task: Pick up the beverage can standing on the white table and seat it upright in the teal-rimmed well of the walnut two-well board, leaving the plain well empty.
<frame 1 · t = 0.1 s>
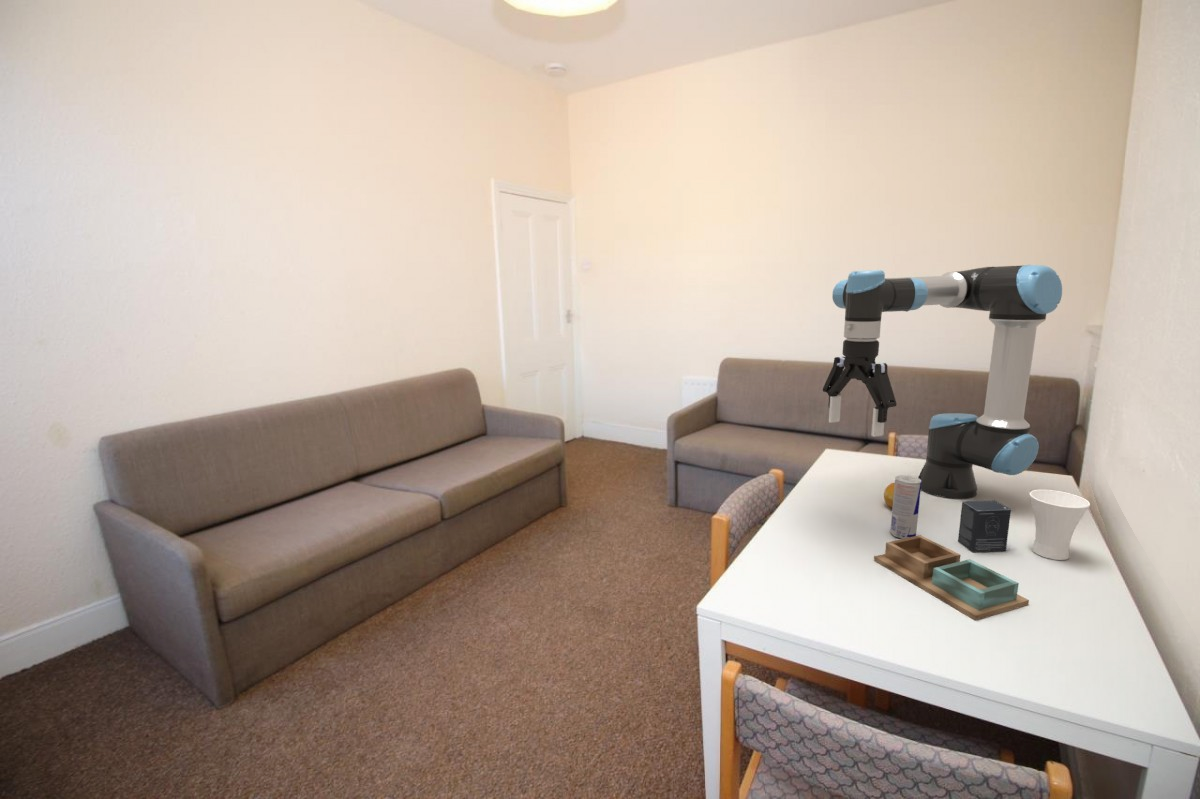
hand: (854, 428, 129), 28 cm above the table, fingers open, 13 cm apart
socket board: (945, 580, 115), on the table
beverage can: (902, 536, 135), on the table
fruit: (899, 508, 151), on the table
box: (981, 547, 128), on the table
cup: (1050, 554, 124), on the table
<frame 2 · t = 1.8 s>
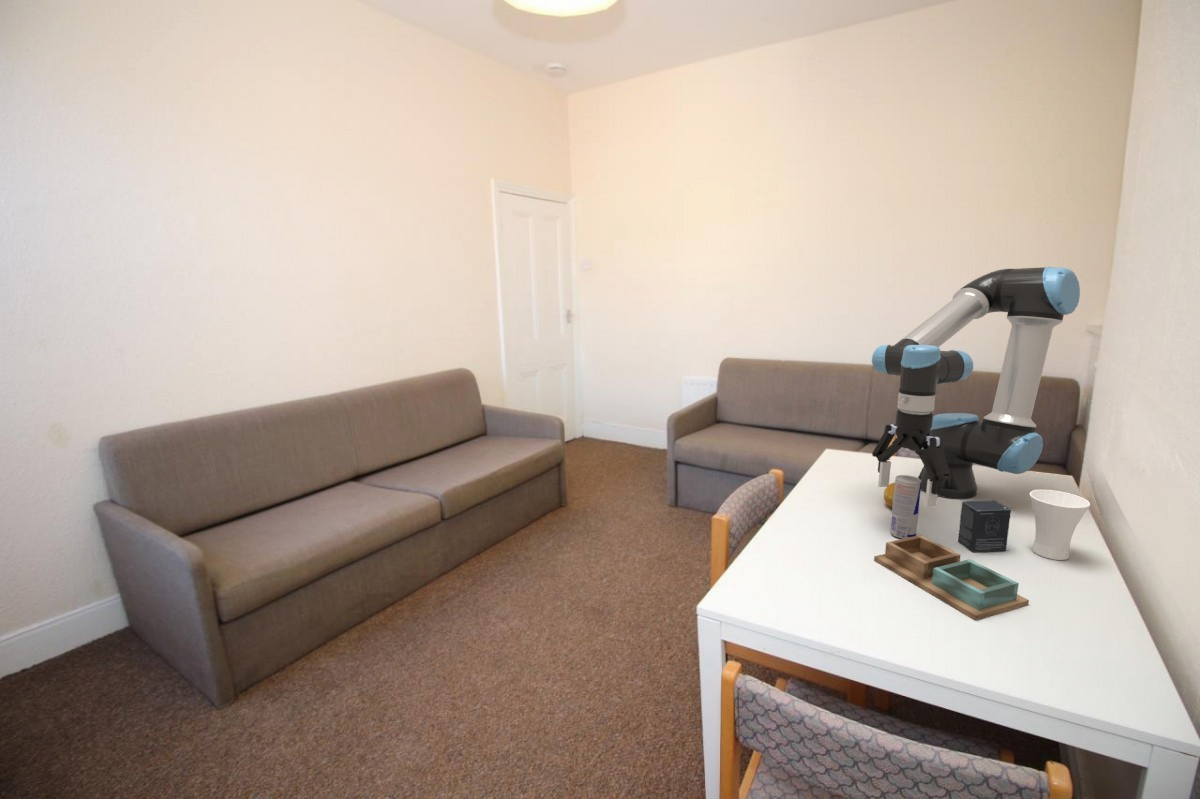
hand: (905, 495, 133), 11 cm above the table, fingers open, 13 cm apart
nothing on the table moved.
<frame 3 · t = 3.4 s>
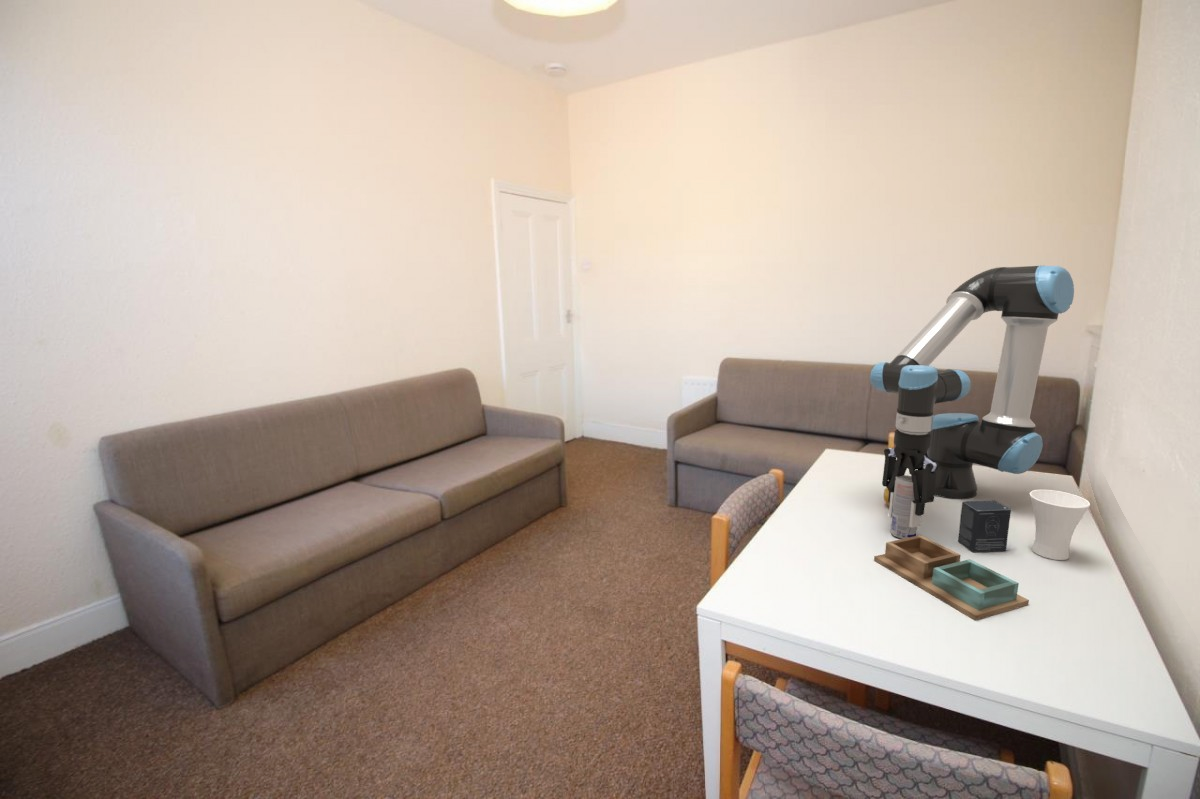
hand: (904, 521, 134), 4 cm above the table, fingers closed on beverage can, 5 cm apart
beverage can: (903, 536, 135), on the table, touching gripper
everything else where it was.
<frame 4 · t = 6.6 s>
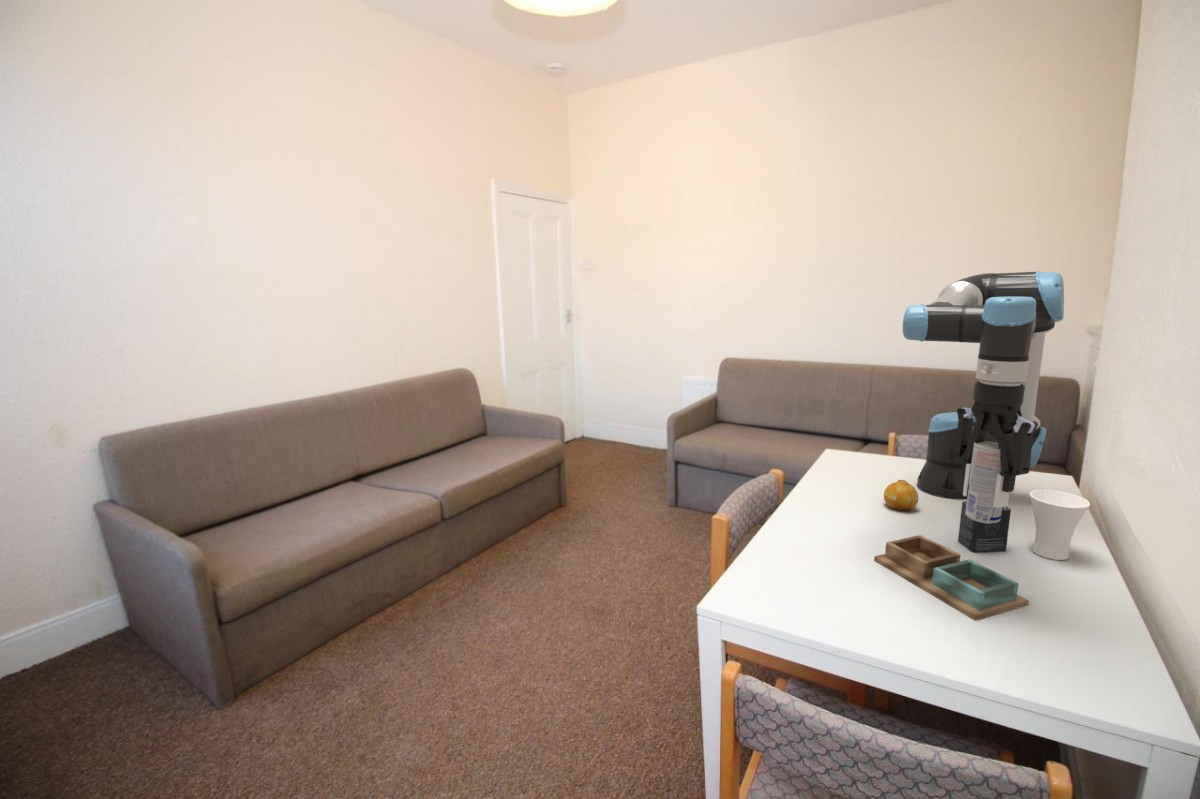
hand: (984, 500, 105), 20 cm above the table, fingers closed on beverage can, 5 cm apart
beverage can: (982, 519, 105), point 16 cm above the table, touching gripper
everything else where it was.
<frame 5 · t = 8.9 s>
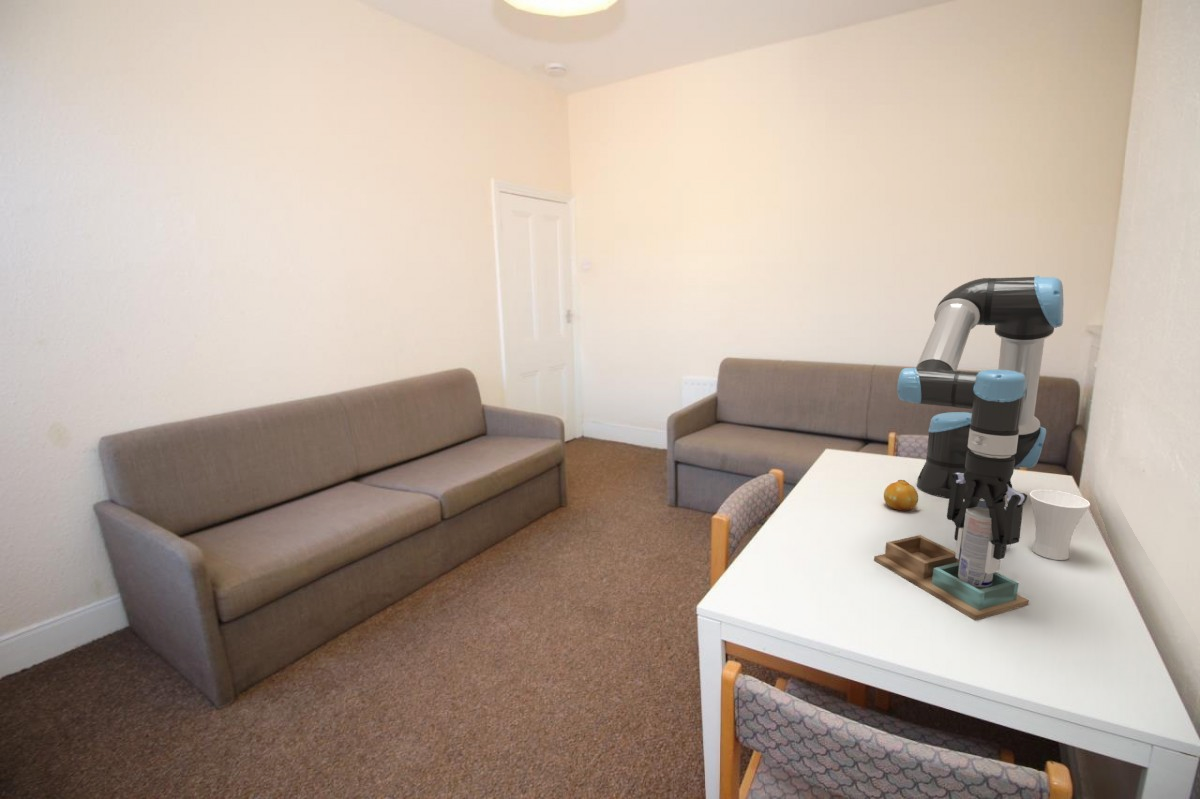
hand: (976, 564, 107), 7 cm above the table, fingers closed on beverage can, 5 cm apart
beverage can: (974, 582, 108), point 3 cm above the table, touching gripper
everything else where it was.
when the fingers open (6 cm above the table, at t = 9.8 s): beverage can drops 1 cm, resting on socket board.
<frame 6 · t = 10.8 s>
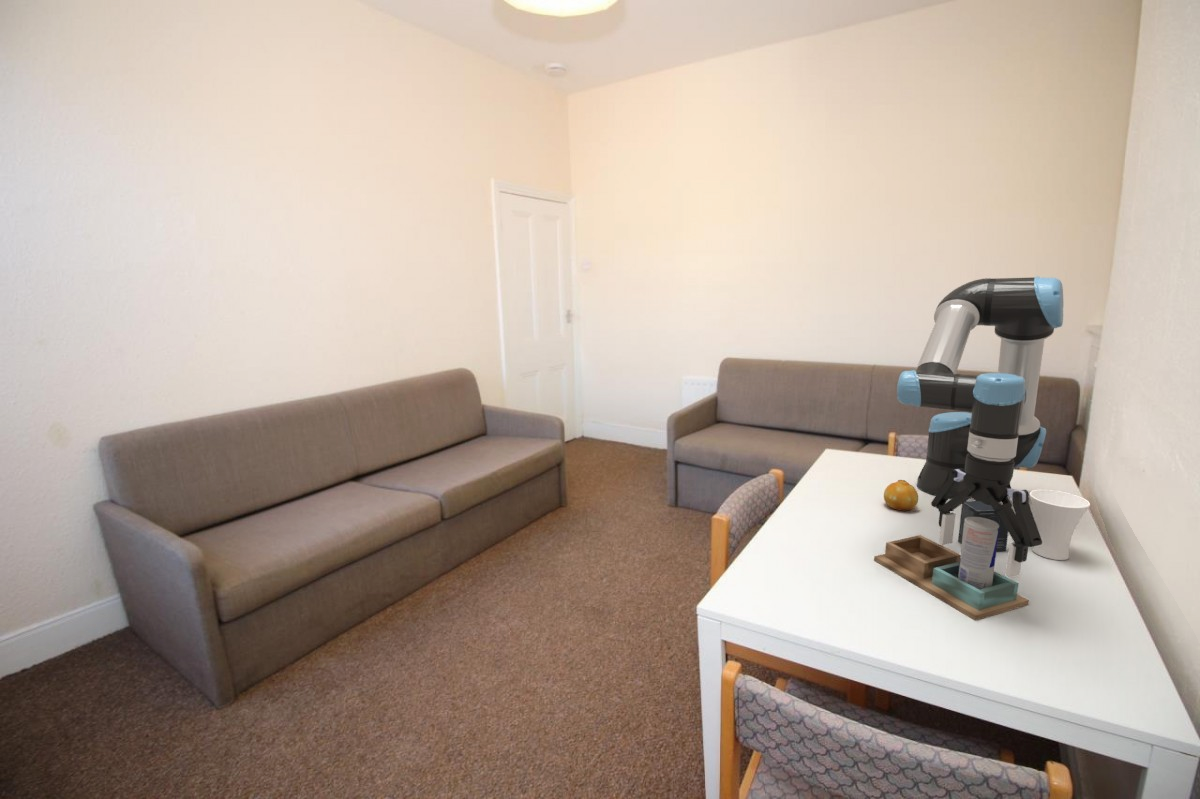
hand: (977, 558, 107), 8 cm above the table, fingers open, 13 cm apart
beverage can: (973, 592, 109), point 1 cm above the table, touching socket board
everything else where it was.
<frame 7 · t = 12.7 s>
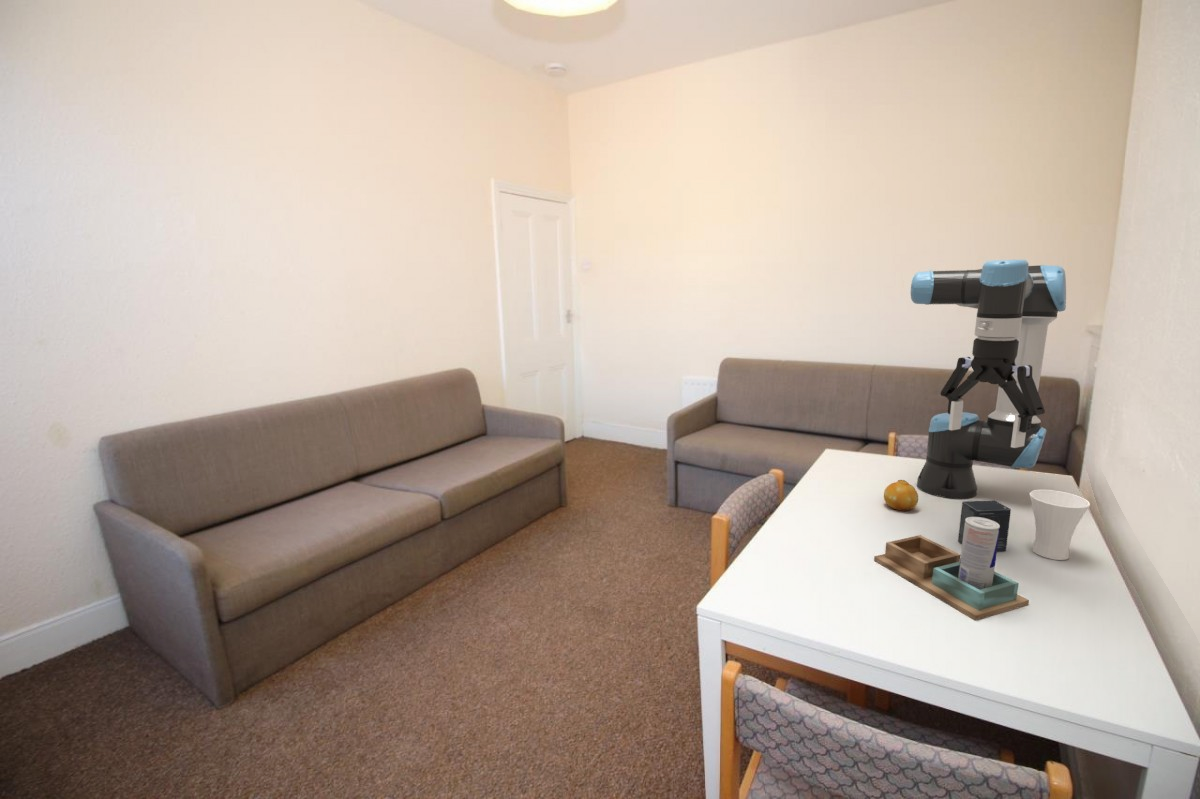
hand: (984, 437, 116), 29 cm above the table, fingers open, 13 cm apart
nothing on the table moved.
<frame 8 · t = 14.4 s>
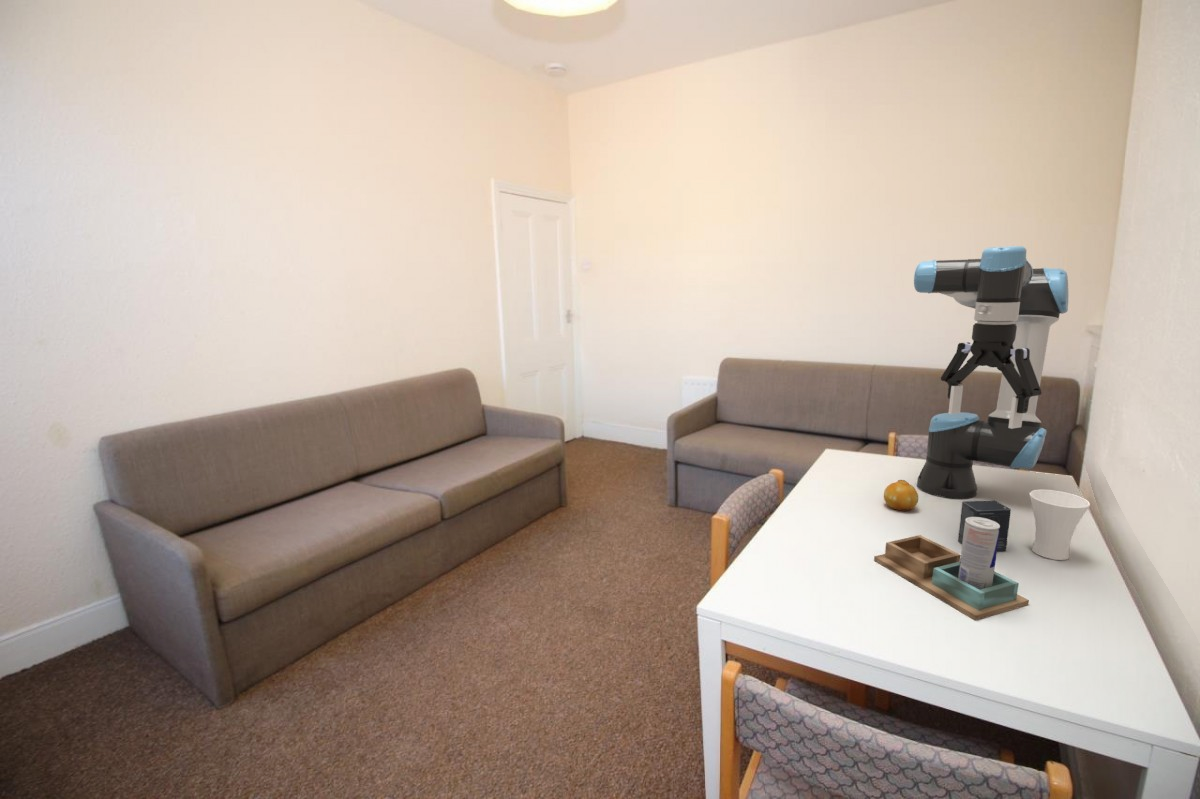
hand: (982, 420, 119), 32 cm above the table, fingers open, 13 cm apart
nothing on the table moved.
at the end: beverage can 0.1 cm from the target spot on the socket board, point 0.8 cm above the socket board's base; beverage can tilted 0°; the gripper is holding nothing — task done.
